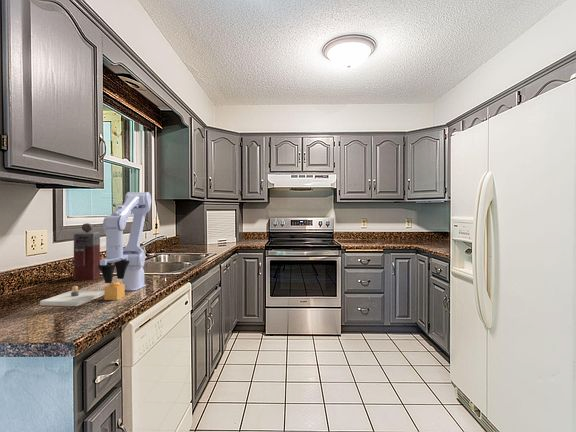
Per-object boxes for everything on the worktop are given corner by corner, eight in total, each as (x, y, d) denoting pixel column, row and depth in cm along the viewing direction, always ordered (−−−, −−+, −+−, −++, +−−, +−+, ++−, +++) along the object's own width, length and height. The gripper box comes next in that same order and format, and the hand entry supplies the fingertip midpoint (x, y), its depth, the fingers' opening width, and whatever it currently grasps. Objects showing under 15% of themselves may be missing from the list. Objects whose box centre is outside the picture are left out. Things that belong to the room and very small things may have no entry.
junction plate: (73, 293, 128) (73, 281, 128) (105, 294, 127) (105, 282, 127) (39, 305, 112) (39, 291, 112) (77, 306, 111) (76, 292, 111)
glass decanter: (71, 281, 150) (71, 223, 150) (81, 276, 161) (80, 223, 161) (92, 280, 152) (92, 223, 152) (100, 276, 163) (100, 223, 163)
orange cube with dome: (112, 296, 124) (112, 281, 124) (124, 296, 124) (124, 281, 124) (104, 299, 119) (104, 284, 119) (117, 299, 119) (117, 284, 119)
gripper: (112, 248, 114) (113, 285, 114) (134, 244, 128) (134, 277, 129) (94, 248, 114) (94, 284, 114) (118, 244, 129) (118, 276, 129)
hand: (114, 280), depth 122 cm, fingers open, 7 cm apart
